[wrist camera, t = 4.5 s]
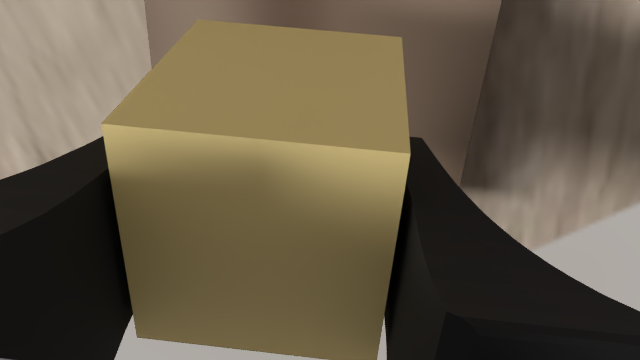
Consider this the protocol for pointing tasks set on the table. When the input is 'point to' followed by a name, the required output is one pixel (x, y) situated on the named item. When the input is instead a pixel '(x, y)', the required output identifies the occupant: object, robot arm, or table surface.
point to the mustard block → (263, 188)
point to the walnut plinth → (387, 20)
